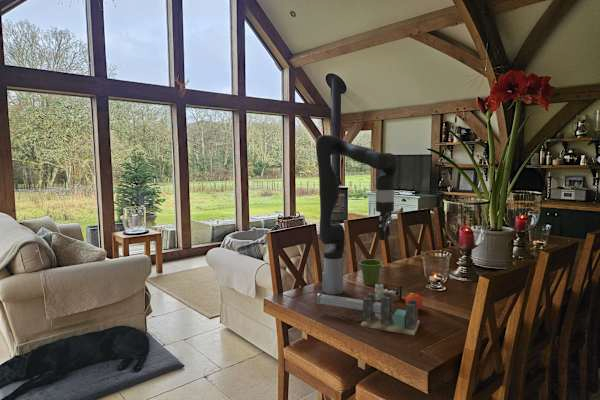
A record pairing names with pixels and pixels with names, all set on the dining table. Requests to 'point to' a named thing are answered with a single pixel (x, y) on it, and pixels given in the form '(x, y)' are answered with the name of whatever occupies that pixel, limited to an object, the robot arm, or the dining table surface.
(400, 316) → the spacer
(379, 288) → the valve
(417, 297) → the clementine
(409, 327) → the frame
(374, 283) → the plant pot
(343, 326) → the dining table surface
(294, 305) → the dining table surface
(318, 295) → the shaft
